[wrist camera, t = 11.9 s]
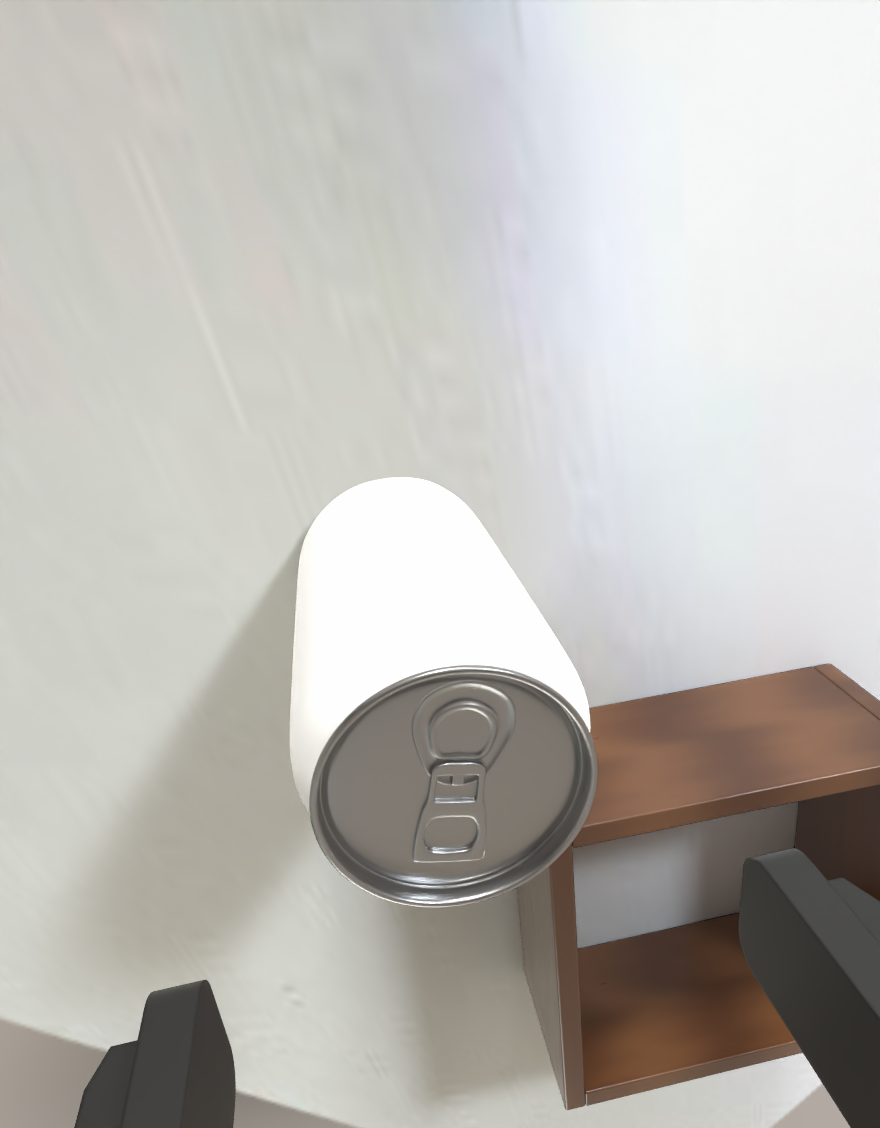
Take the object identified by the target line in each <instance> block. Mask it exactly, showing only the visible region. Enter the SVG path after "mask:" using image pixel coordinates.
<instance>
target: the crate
mask: <svg viewBox="0 0 880 1128" xmlns="http://www.w3.org/2000/svg"><path fill="white" fill-rule="evenodd" d="M589 713H590V734H591V736H592V739H593V742H594V746H595V750H596V755H597V763H598V779H597V787H596V793H595V797H594V801H593V804H592V807H591V810H590V812H589V815H588V817H587V819H586V821H585V823H584V825H583V826H582V828H581V830H580V831H579V833H578V835H577V836H576V837H575V839H574V840H573V842H572V843H571V844H570V845H569V847H568V848H567V849H566V850H565V851H564V852H563V853H562V854H561V855H560V856H559V857H558V858H557V859H556V860H555V861H554V862H553V863H552V864H551V865H550V866H549V867H547V868H546V869H545V870H544V871H542V872H541V873H540V874H538V875H537V876H535V877H534V878H532V879H531V880H529V881H528V882H526V883H524V884H522V885H521V886H519V887H517V894H518V905H519V916H520V927H521V938H522V949H523V960H524V971H525V976H526V979H527V983H528V986H529V989H530V993H531V996H532V999H533V1003H534V1006H535V1009H536V1013H537V1016H538V1019H539V1023H540V1026H541V1029H542V1033H543V1036H544V1040H545V1043H546V1046H547V1050H548V1053H549V1056H550V1060H551V1063H552V1066H553V1070H554V1073H555V1076H556V1080H557V1083H558V1086H559V1090H560V1093H561V1096H562V1100H563V1103H564V1106H565V1109H566V1110H570V1109H574V1108H578V1107H582V1106H585V1104H586V1105H587V1106H588V1105H592V1104H596V1103H600V1102H604V1101H608V1100H612V1099H616V1098H620V1097H624V1096H628V1095H632V1094H636V1093H641V1092H645V1091H649V1090H653V1089H657V1088H661V1087H665V1086H669V1085H673V1084H677V1083H681V1082H685V1081H689V1080H693V1079H697V1078H702V1077H706V1076H710V1075H714V1074H718V1073H722V1072H726V1071H730V1070H734V1069H738V1068H742V1067H746V1066H750V1065H754V1064H758V1063H762V1062H767V1061H771V1060H775V1059H779V1058H783V1057H787V1056H791V1055H795V1054H799V1053H803V1052H802V1050H801V1049H800V1047H799V1046H798V1044H797V1042H796V1041H795V1039H794V1038H793V1036H792V1035H791V1033H790V1031H789V1030H788V1028H787V1027H786V1025H785V1024H784V1022H783V1020H782V1019H781V1017H780V1016H779V1014H778V1013H777V1011H776V1009H775V1008H774V1006H773V1005H772V1003H771V1002H770V1000H769V998H768V997H767V995H766V994H765V992H764V991H763V989H762V987H761V986H760V984H759V983H758V981H757V980H756V978H755V976H754V975H753V973H752V971H751V969H750V968H749V966H748V963H747V961H746V959H745V956H744V953H743V950H742V947H741V943H740V938H739V914H740V913H738V914H734V915H729V916H725V917H720V918H716V919H711V920H707V921H702V922H698V923H693V924H689V925H684V926H680V927H675V928H671V929H666V930H662V931H657V932H653V933H648V934H644V935H639V936H635V937H630V938H626V939H621V940H617V941H612V942H608V943H603V944H599V945H594V946H590V947H585V948H581V949H577V931H576V911H575V892H574V872H573V852H572V846H573V847H574V848H576V847H581V846H586V845H590V844H595V843H600V842H605V841H610V840H614V839H619V838H624V837H629V836H634V835H639V834H643V833H648V832H653V831H658V830H663V829H667V828H672V827H677V826H682V825H687V824H692V823H696V822H701V821H706V820H711V819H716V818H720V817H725V816H730V815H735V814H740V813H744V812H749V811H754V810H759V809H764V808H769V807H773V806H778V805H783V804H788V803H793V802H797V801H800V802H799V812H798V822H797V832H796V842H795V849H798V850H800V851H801V852H803V853H804V854H805V855H806V856H807V857H808V858H809V859H810V861H811V862H812V863H813V864H814V865H815V866H816V868H817V869H818V870H819V871H820V872H821V873H822V875H823V876H824V877H825V878H826V879H827V880H828V881H829V880H833V879H837V878H841V877H843V878H844V879H846V880H848V881H849V882H851V883H852V884H854V885H855V886H857V887H858V888H860V889H861V890H863V891H864V892H866V893H868V894H869V895H871V896H872V897H874V898H875V899H877V900H878V901H880V701H879V700H878V699H877V698H875V697H874V696H873V695H871V694H870V693H869V692H867V691H866V690H865V689H863V688H862V687H861V686H860V685H858V684H857V683H856V682H854V681H853V680H852V679H850V678H849V677H848V676H846V675H845V674H844V673H843V672H841V671H840V670H839V669H837V668H836V667H835V666H833V665H832V664H824V665H819V666H814V667H807V668H802V669H796V670H791V671H786V672H780V673H775V674H770V675H764V676H759V677H754V678H748V679H743V680H738V681H732V682H727V683H722V684H716V685H711V686H706V687H700V688H695V689H690V690H684V691H679V692H674V693H668V694H663V695H658V696H652V697H647V698H642V699H636V700H631V701H626V702H620V703H615V704H610V705H604V706H599V707H594V708H589Z"/></svg>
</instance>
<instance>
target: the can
mask: <svg viewBox="0 0 880 1128" xmlns="http://www.w3.org/2000/svg"><path fill="white" fill-rule="evenodd" d="M290 758H291V765H292V772H293V777H294V781H295V785H296V788H297V790H298V793H299V795H300V798H301V800H302V802H303V804H304V805H305V807H306V809H307V811H308V812H309V814H310V818H311V823H312V827H313V831H314V834H315V836H316V839H317V841H318V844H319V846H320V847H321V849H322V851H323V853H324V854H325V856H326V857H327V859H328V860H329V861H330V863H331V864H332V865H333V866H334V867H335V868H336V870H337V871H338V872H339V873H341V874H342V875H343V876H344V877H345V878H346V879H348V880H349V881H350V882H351V883H353V884H354V885H356V886H357V887H359V888H361V889H362V890H364V891H366V892H368V893H370V894H372V895H374V896H377V897H379V898H382V899H385V900H388V901H391V902H395V903H399V904H403V905H409V906H416V907H431V908H438V907H453V906H461V905H467V904H472V903H476V902H480V901H484V900H487V899H490V898H493V897H496V896H499V895H501V894H504V893H506V892H508V891H511V890H513V889H515V888H517V887H519V886H521V885H522V884H524V883H526V882H528V881H529V880H531V879H532V878H534V877H535V876H537V875H538V874H540V873H541V872H542V871H544V870H545V869H546V868H547V867H549V866H550V865H551V864H552V863H553V862H554V861H555V860H556V859H557V858H558V857H559V856H560V855H561V854H562V853H563V852H564V851H565V850H566V849H567V848H568V847H569V845H570V844H571V843H572V842H573V840H574V839H575V837H576V836H577V835H578V833H579V831H580V830H581V828H582V826H583V825H584V823H585V821H586V819H587V817H588V815H589V812H590V810H591V807H592V804H593V801H594V797H595V793H596V787H597V779H598V763H597V755H596V750H595V746H594V742H593V739H592V736H591V734H590V713H589V706H588V701H587V697H586V694H585V691H584V688H583V685H582V683H581V681H580V678H579V676H578V674H577V672H576V670H575V668H574V666H573V664H572V663H571V661H570V659H569V658H568V656H567V654H566V652H565V651H564V649H563V647H562V646H561V644H560V643H559V641H558V640H557V638H556V636H555V635H554V633H553V632H552V630H551V629H550V627H549V625H548V624H547V622H546V621H545V619H544V618H543V616H542V615H541V613H540V612H539V610H538V609H537V607H536V605H535V604H534V602H533V601H532V599H531V598H530V596H529V595H528V593H527V592H526V590H525V589H524V587H523V586H522V584H521V582H520V581H519V579H518V578H517V576H516V575H515V573H514V572H513V570H512V569H511V567H510V566H509V564H508V563H507V561H506V560H505V558H504V557H503V555H502V554H501V552H500V551H499V549H498V548H497V546H496V545H495V543H494V542H493V540H492V539H491V537H490V536H489V534H488V533H487V531H486V530H485V528H484V527H483V525H482V524H481V523H480V521H479V520H478V518H477V517H476V516H475V514H474V513H473V512H472V511H471V509H470V508H469V507H468V506H467V505H466V504H465V503H464V502H463V501H462V500H460V499H459V498H458V497H457V496H455V495H454V494H453V493H451V492H450V491H448V490H446V489H445V488H443V487H441V486H439V485H437V484H435V483H432V482H430V481H427V480H423V479H417V478H408V477H396V478H386V479H379V480H374V481H370V482H366V483H363V484H360V485H358V486H355V487H353V488H351V489H349V490H348V491H346V492H344V493H343V494H341V495H340V496H338V497H337V498H335V499H334V500H333V501H332V502H331V503H330V504H328V505H327V506H326V507H325V508H324V509H323V511H322V512H321V513H320V514H319V515H318V517H317V518H316V519H315V521H314V522H313V524H312V526H311V527H310V529H309V531H308V533H307V535H306V538H305V540H304V543H303V546H302V550H301V554H300V560H299V569H298V581H297V596H296V613H295V631H294V649H293V668H292V689H291V711H290Z"/></svg>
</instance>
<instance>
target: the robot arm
mask: <svg viewBox="0 0 880 1128" xmlns="http://www.w3.org/2000/svg"><path fill="white" fill-rule="evenodd" d="M739 938H740V943H741V947H742V950H743V953H744V956H745V959H746V961H747V963H748V966H749V968H750V969H751V971H752V973H753V975H754V976H755V978H756V980H757V981H758V983H759V984H760V986H761V987H762V989H763V991H764V992H765V994H766V995H767V997H768V998H769V1000H770V1002H771V1003H772V1005H773V1006H774V1008H775V1009H776V1011H777V1013H778V1014H779V1016H780V1017H781V1019H782V1020H783V1022H784V1024H785V1025H786V1027H787V1028H788V1030H789V1031H790V1033H791V1035H792V1036H793V1038H794V1039H795V1041H796V1042H797V1044H798V1046H799V1047H800V1049H801V1050H802V1052H803V1053H804V1055H805V1057H806V1058H807V1060H808V1061H809V1063H810V1064H811V1066H812V1068H813V1069H814V1071H815V1072H816V1074H817V1075H818V1077H819V1079H820V1080H821V1082H822V1083H823V1085H824V1086H825V1088H826V1090H827V1091H828V1093H829V1094H830V1096H831V1097H832V1099H833V1100H834V1102H835V1104H836V1105H837V1107H838V1108H839V1110H840V1111H841V1113H842V1115H843V1116H844V1118H845V1119H846V1121H847V1122H848V1124H849V1125H850V1127H851V1128H880V901H878V900H877V899H875V898H874V897H872V896H871V895H869V894H868V893H866V892H864V891H863V890H861V889H860V888H858V887H857V886H855V885H854V884H852V883H851V882H849V881H848V880H846V879H844V878H843V877H841V878H837V879H833V880H829V881H828V880H827V879H826V878H825V877H824V876H823V875H822V873H821V872H820V871H819V870H818V869H817V868H816V866H815V865H814V864H813V863H812V862H811V861H810V859H809V858H808V857H807V856H806V855H805V854H804V853H803V852H801V851H800V850H798V849H795V848H791V849H787V850H782V851H778V852H774V853H769V854H765V855H761V856H756V857H752V858H748V859H746V861H745V862H744V865H743V875H742V888H741V901H740V914H739ZM235 1091H236V1088H235V1068H234V1060H233V1054H232V1050H231V1046H230V1043H229V1040H228V1037H227V1034H226V1031H225V1028H224V1025H223V1022H222V1019H221V1016H220V1013H219V1010H218V1007H217V1004H216V1001H215V998H214V995H213V992H212V989H211V986H210V984H209V982H208V981H207V980H202V981H198V982H193V983H189V984H185V985H180V986H176V987H171V988H167V989H163V990H158V991H154V992H151V993H150V995H149V996H148V998H147V1001H146V1004H145V1008H144V1012H143V1017H142V1022H141V1027H140V1031H139V1036H138V1040H137V1041H133V1042H129V1043H124V1044H120V1045H116V1046H112V1047H110V1049H109V1050H108V1052H107V1054H106V1055H105V1057H104V1059H103V1060H102V1062H101V1064H100V1065H99V1067H98V1068H97V1070H96V1072H95V1073H94V1075H93V1077H92V1079H91V1080H90V1082H89V1083H88V1085H87V1087H86V1088H85V1090H84V1093H83V1097H82V1101H81V1104H80V1108H79V1112H78V1116H77V1120H76V1124H75V1127H74V1128H233V1122H234V1110H235Z"/></svg>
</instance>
